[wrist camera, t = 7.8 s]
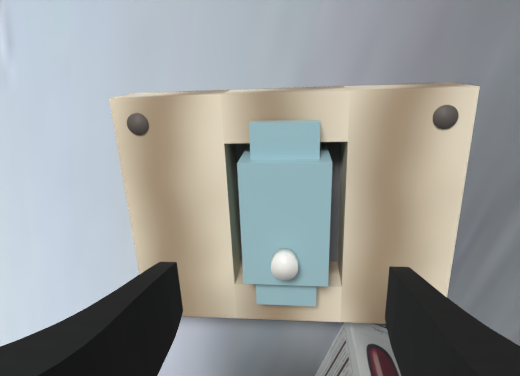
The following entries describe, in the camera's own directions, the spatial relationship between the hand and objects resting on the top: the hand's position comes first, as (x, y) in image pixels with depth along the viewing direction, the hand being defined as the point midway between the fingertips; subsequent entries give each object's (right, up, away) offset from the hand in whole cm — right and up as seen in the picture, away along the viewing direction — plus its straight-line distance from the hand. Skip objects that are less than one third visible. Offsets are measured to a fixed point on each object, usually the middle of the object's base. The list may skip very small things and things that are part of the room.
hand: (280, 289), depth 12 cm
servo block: (+1, +3, +8) cm, 8 cm away
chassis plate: (+1, +3, +8) cm, 8 cm away
